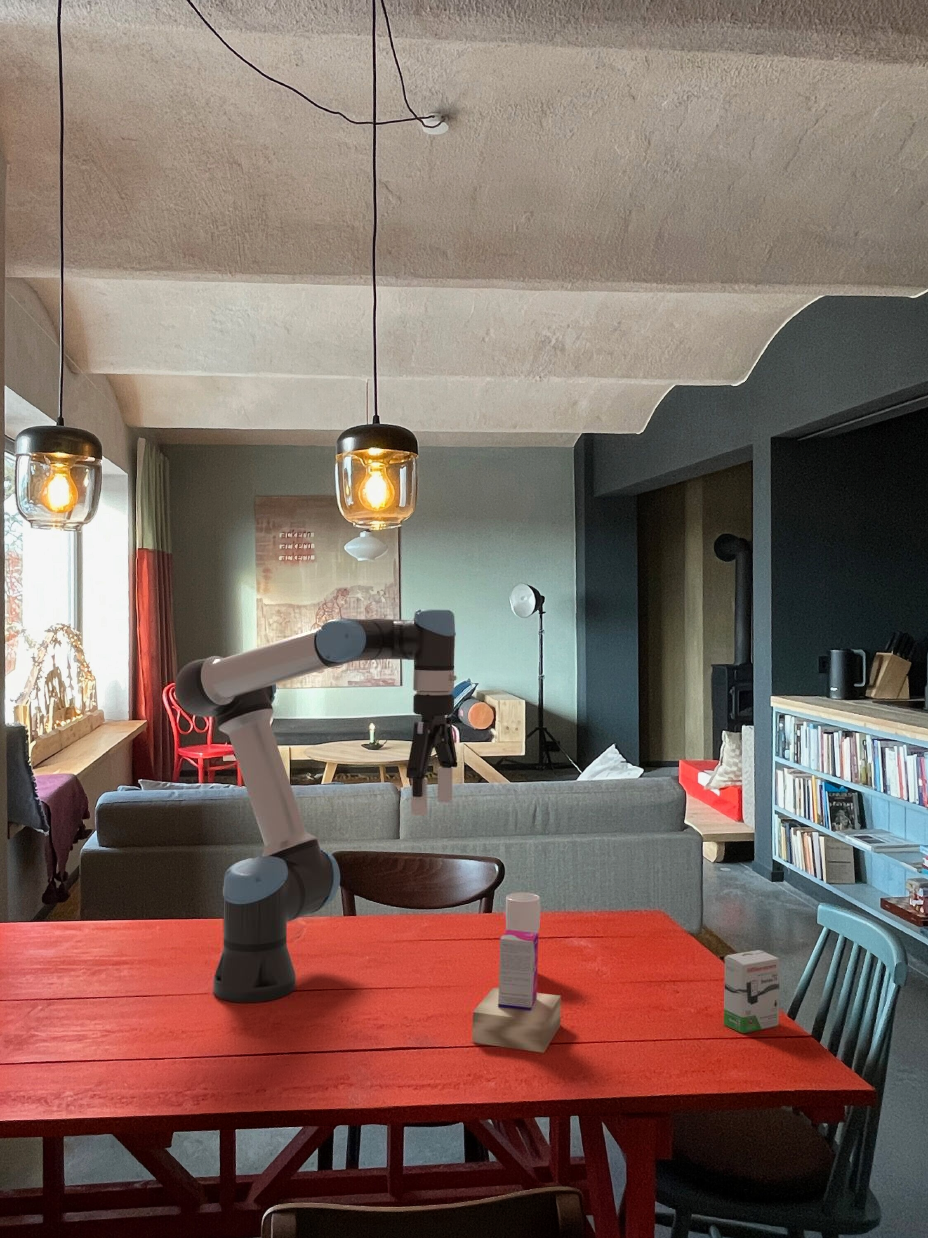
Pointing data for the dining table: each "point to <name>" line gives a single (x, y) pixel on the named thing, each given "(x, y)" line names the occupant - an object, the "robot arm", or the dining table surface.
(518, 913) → the drinking glass
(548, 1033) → the maple block
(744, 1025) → the ink box
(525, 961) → the supplement box
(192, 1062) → the dining table surface
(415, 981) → the dining table surface
